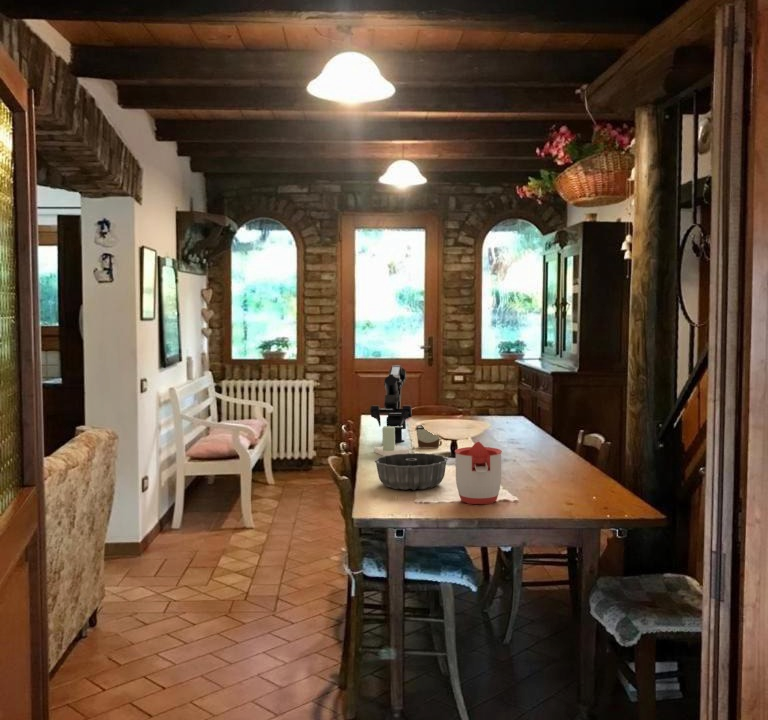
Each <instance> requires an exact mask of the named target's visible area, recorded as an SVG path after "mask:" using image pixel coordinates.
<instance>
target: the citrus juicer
mask: <svg viewBox="0 0 768 720" xmlns="http://www.w3.org/2000/svg"><path fill="white" fill-rule="evenodd" d="M454 453H455V481H456V488H457V492H458V495H459V498H460V501H461V502H463V503H466V504H467V505H486V504H487V505H492V504H493V503H495V502H496V501H497V500H498V497H499V493H500V490H501V485H502V449H500V448H496V447H487V446H484V445H483V444H482V443H481V442H480V441H477V442H475V443H474V444H473V445H472V446H467V447H466V446H465V447H461V448H457V449H455V450H454Z"/></svg>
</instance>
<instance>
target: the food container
mask: <svg viewBox="0 0 768 720" xmlns="http://www.w3.org/2000/svg"><path fill="white" fill-rule="evenodd" d="M422 425H423V424H418V425H416V426H415V428H414V431H416V438H417V445H418V447H439V446H440V439H441V438H440V437H441V436H440V437H438V436H436V435H433V434H432V433H430V432H428V431H427V430H425V429H424V427H423V426H422Z"/></svg>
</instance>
